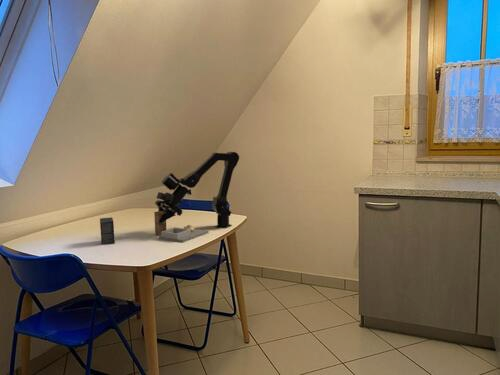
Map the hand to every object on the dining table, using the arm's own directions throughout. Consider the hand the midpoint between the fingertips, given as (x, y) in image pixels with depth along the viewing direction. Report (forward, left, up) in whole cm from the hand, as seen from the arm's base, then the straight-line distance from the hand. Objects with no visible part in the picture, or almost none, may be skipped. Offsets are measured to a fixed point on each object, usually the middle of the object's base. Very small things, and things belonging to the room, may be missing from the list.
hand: (157, 221), depth 199 cm
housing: (-4, +13, -7) cm, 15 cm away
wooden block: (-1, +1, -7) cm, 7 cm away
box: (+21, -11, -7) cm, 25 cm away
